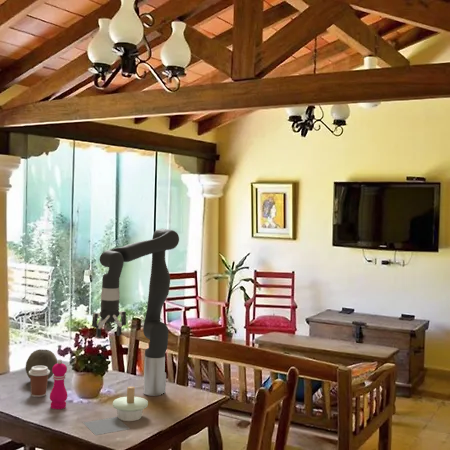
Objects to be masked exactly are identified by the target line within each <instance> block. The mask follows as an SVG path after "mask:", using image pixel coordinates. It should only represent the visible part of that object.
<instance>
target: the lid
mask: <svg viewBox="0 0 450 450" xmlns="http://www.w3.org/2000/svg"><path fill="white" fill-rule="evenodd" d="M135 389H136V388H135V386H133V385H132V386H127V389H126V396H121V397H118V398H115V399H114V400H113V401H112V407H113V408H114V410H117V409H118V410H122V411H138V410H142V409H143V410H144V409H146V408H147V407H148V404H149V401H148V400H147V399H146V398H143V397H140V396H135Z"/></svg>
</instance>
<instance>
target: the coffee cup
mask: <svg viewBox="0 0 450 450" xmlns="http://www.w3.org/2000/svg"><path fill="white" fill-rule="evenodd" d="M48 374H50V370H48V367H46V366H34V367H32V368H31V370H30V371H29V375H30V378H29V379H30V395H31V397H34V398H38V397H39V398H42V397H45V396H46V395H47V391H48V390H47V387H48V381H49V379H48Z"/></svg>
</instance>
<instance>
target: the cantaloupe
mask: <svg viewBox="0 0 450 450" xmlns="http://www.w3.org/2000/svg"><path fill="white" fill-rule="evenodd" d="M57 363H58V358H57V356H56V354H55V353H53V351H51V350H49V349H36V350H34V351H33V352H32V353H30V355H29V356H28V358H27V360H26V362H25V372H26V375H27V377H28V378H29V379H30V375H29V371H30V370H31V368H32V367H34V366H46V367H48V370H50V374H48V380H50V378H52V376H53V375H54V374H53V372H52V368H53V366H54V365H55V364H57Z"/></svg>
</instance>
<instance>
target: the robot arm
mask: <svg viewBox="0 0 450 450" xmlns="http://www.w3.org/2000/svg"><path fill="white" fill-rule="evenodd" d="M179 242H180V236H179V234H178V232H177V231H175V230H173V229H170V228H169V229H167V228H157V229H156V230H155V231H154V232H153V235H152V239H148V240H141V241H135V242H132V243H129V244H125V245H123V246H121V247H115V248H111V249H107V250H104V251H103V252H102V253H101V254H100V256H99V262H100V263H99V264H101V266H103V267H105V268H108V271H107V273H104V274H103V275H102V284H101V294H100V296H101V297H100V312H93V313H92V323H91V326H92V327H93V328H95V329H96V332H95V333H96V334H95V335H96V337H97V338H101V337H102V327H103V326H104V325H105V323H106V324H108V323H115V324H116V336H118V337H120V336H121V335H122V329H123V328H122V327H123V326H126V325H127V312H126V311H125V310H121V311H119V309H120V277H121V274H122V271H123V268H124V267H123V266H124V264H125V263H128V262H131V261H135V260H137V259H140V258H143V257H145V256H148V255H151V266H150V267H151V268H150V278H149V285H148V287H149V288H148V297H147V306H146V313H145V317H144V323H143V327H142V328H143V329H142V332H143V335H144V337H145V338H147V339H148V340H149V346H148V348H145V350H144V371H143V373H144V374H143V375H144V376H143V394H144V395H145V396H151V397H153V396H155V397H156V396H158V397H159V396H161V394H162V395H164V394H166V389H167V388H166V387H167V382H166V381H167V372H165V369H166V368H165V366H166V365H165V364H166V363H165V362H166V352H167V350H168V346H169V345H168V343H169V328H168V325H167V324H166V323H164V322H162V321H161V317H162V316H161V315H162V309H163V307H164V304H165V302H166V300H167V298H168V295H169V293H170V285H171V276H170V272H169V269H168V266H167V263H166V252H167V251H169V250H174V249H175V248H177V246H178V245H179ZM119 316H120V320H121V321H120V320H119V318H118V317H119ZM99 317H100V319H99ZM163 393H164V394H163Z"/></svg>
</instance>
